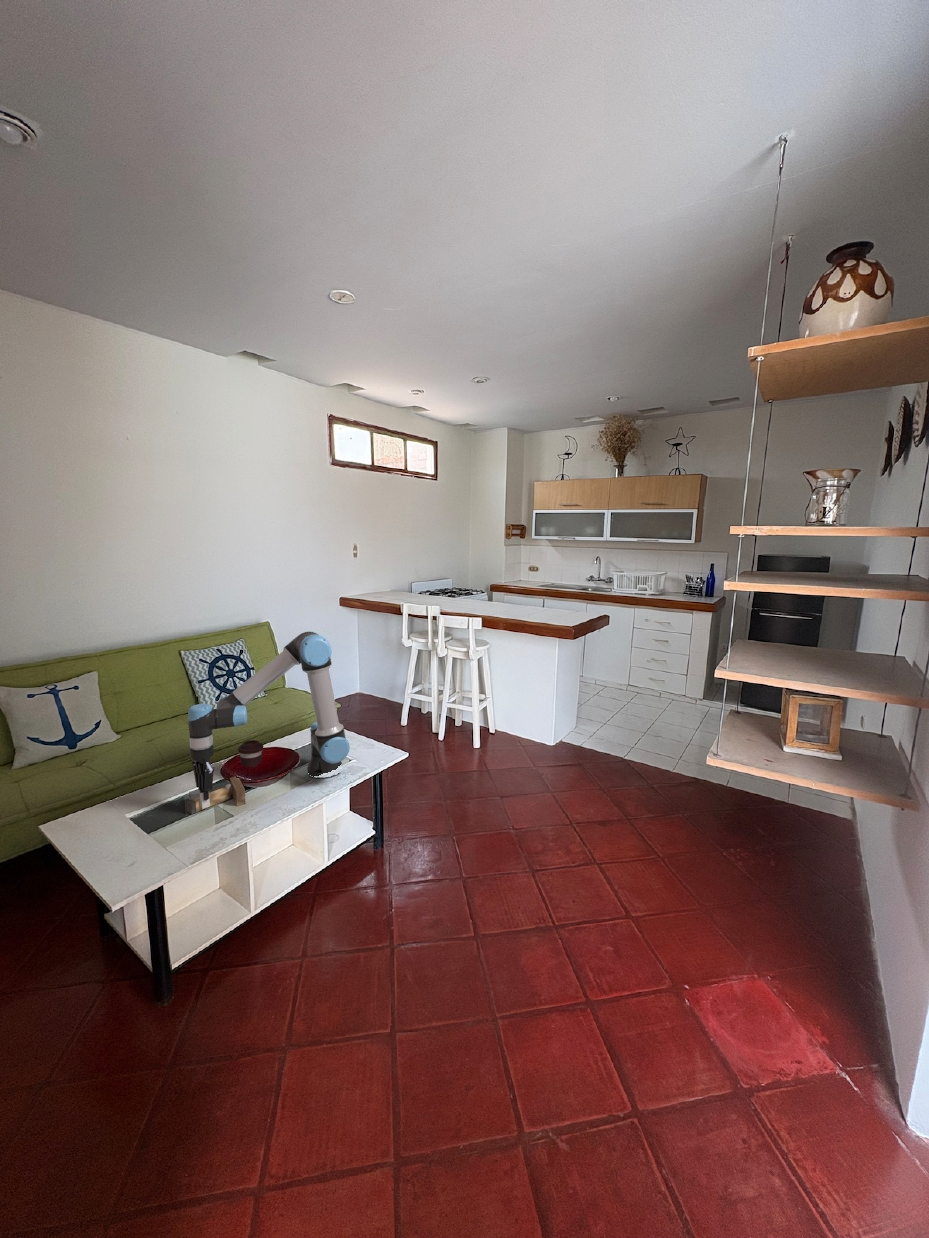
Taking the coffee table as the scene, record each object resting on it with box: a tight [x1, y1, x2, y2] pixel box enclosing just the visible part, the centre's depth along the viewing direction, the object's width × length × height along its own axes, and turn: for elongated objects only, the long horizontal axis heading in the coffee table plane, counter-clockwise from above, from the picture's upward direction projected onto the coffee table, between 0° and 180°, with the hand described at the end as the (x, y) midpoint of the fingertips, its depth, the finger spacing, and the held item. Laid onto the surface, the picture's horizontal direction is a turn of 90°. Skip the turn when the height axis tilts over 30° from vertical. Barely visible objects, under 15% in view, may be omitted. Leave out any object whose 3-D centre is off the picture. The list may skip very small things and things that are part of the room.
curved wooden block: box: [229, 775, 246, 807], centre depth 193 cm, size 3×14×6 cm, turn 35°
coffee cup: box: [237, 739, 264, 767], centre depth 213 cm, size 10×10×15 cm
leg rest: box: [188, 789, 200, 800], centre depth 190 cm, size 6×3×4 cm, turn 125°
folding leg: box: [186, 783, 232, 815], centre depth 188 cm, size 16×3×5 cm, turn 146°
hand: (205, 806), depth 184 cm, fingers closed
